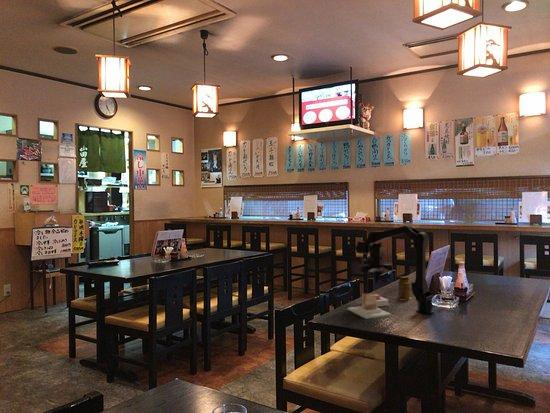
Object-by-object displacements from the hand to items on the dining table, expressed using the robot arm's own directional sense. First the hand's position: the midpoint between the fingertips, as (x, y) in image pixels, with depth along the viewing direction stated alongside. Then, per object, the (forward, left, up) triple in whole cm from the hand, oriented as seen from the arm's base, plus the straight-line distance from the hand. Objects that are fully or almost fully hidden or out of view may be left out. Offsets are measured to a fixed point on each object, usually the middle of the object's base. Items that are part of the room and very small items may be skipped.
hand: (375, 283), depth 233 cm
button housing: (0, 0, -11) cm, 11 cm away
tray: (-14, +12, -11) cm, 21 cm away
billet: (-14, +12, -10) cm, 21 cm away
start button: (0, 0, -9) cm, 9 cm away
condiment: (+7, -22, -11) cm, 26 cm away
